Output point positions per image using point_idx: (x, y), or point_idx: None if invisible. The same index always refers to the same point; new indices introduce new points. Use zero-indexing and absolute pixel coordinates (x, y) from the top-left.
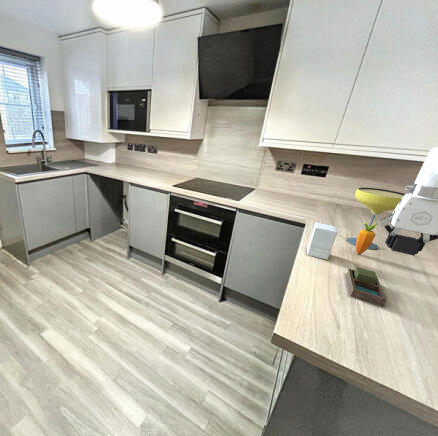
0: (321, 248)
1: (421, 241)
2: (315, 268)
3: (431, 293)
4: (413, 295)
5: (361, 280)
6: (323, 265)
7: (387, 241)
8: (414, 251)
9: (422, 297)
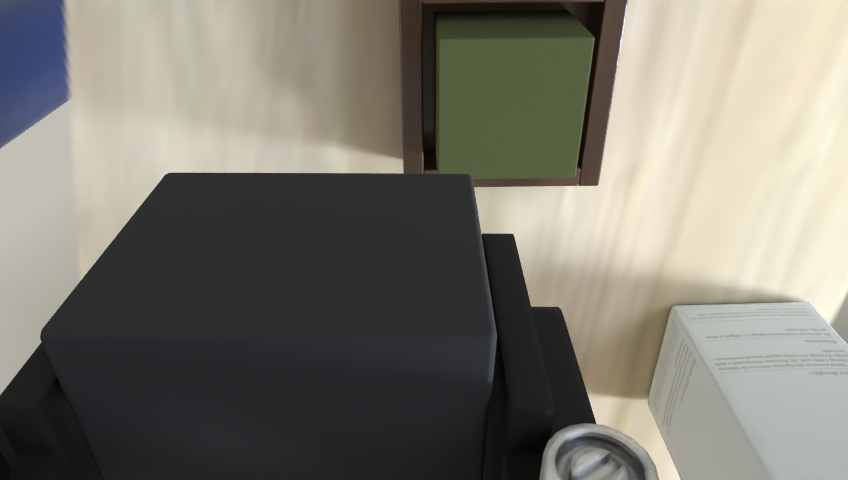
0: (775, 361)
1: (35, 456)
2: (816, 103)
3: (87, 244)
4: (178, 136)
5: (538, 20)
6: (726, 201)
7: (564, 329)
8: (163, 207)
9: (130, 146)
